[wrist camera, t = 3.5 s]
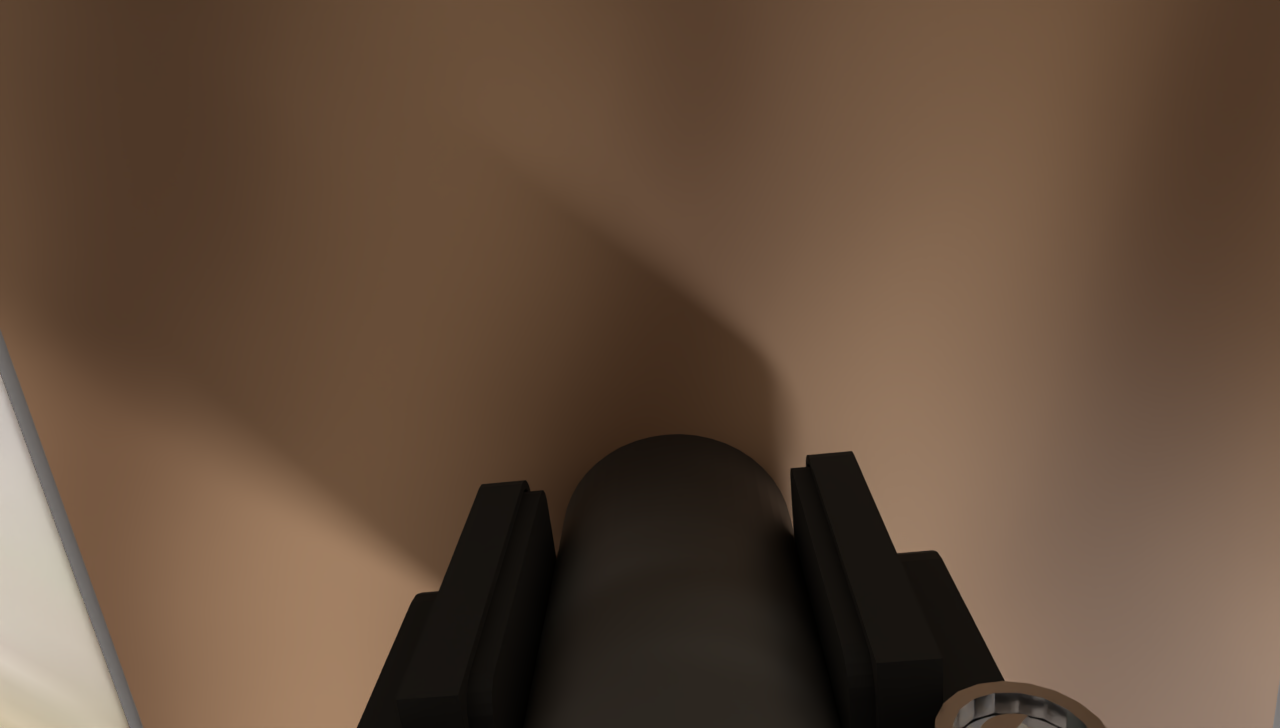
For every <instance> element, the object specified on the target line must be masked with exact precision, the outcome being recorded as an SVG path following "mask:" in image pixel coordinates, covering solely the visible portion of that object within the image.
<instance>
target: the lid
mask: <svg viewBox="0 0 1280 728" xmlns="http://www.w3.org/2000/svg"><path fill="white" fill-rule="evenodd" d="M0 330H1V332H2V335H3V338H4V341H5V343H6V346H7V349H8V352H9V355H10V357H11V360H12V363H13V366H14V369H15V371H16V374H17V377H18V380H19V382H20V385H21V388H22V391H23V394H24V396H25V399H26V402H27V405H28V408H29V410H30V413H31V416H32V419H33V421H34V424H35V427H36V430H37V433H38V435H39V438H40V441H41V444H42V446H43V449H44V452H45V455H46V458H47V460H48V463H49V466H50V469H51V472H52V474H53V477H54V480H55V483H56V485H57V488H58V491H59V494H60V497H61V499H62V502H63V505H64V508H65V511H66V513H67V516H68V519H69V522H70V524H71V527H72V530H73V533H74V536H75V538H76V541H77V544H78V547H79V550H80V552H81V555H82V558H83V561H84V563H85V566H86V569H87V572H88V575H89V577H90V580H91V583H92V586H93V589H94V591H95V594H96V597H97V600H98V602H99V605H100V608H101V611H102V614H103V616H104V619H105V622H106V625H107V628H108V630H109V633H110V636H111V639H112V641H113V644H114V647H115V650H116V653H117V655H118V658H119V661H120V664H121V667H122V669H123V672H124V675H125V678H126V680H127V683H128V686H129V689H130V692H131V694H132V697H133V700H134V703H135V706H136V708H137V711H138V714H139V717H140V719H141V722H142V725H143V728H357V726H358V724H359V721H360V719H361V717H362V715H363V712H364V710H365V708H366V705H367V703H368V701H369V698H370V696H371V694H372V691H373V689H374V687H375V685H376V682H377V680H378V678H379V675H380V673H381V671H382V668H383V666H384V664H385V661H386V659H387V657H388V655H389V652H390V650H391V648H392V645H393V643H394V641H395V638H396V636H397V634H398V631H399V629H400V627H401V625H402V622H403V620H404V618H405V615H406V613H407V611H408V608H409V606H410V604H411V602H412V600H413V599H414V597H415V595H416V594H419V593H422V592H434V591H439V589H440V586H441V584H442V581H443V579H444V576H445V573H446V571H447V568H448V566H449V563H450V561H451V558H452V556H453V553H454V551H455V548H456V546H457V543H458V540H459V538H460V535H461V533H462V530H463V528H464V525H465V523H466V520H467V518H468V515H469V513H470V510H471V507H472V505H473V502H474V500H475V497H476V495H477V492H478V490H479V487H480V486H481V484H489V483H500V482H511V481H522V480H526V481H527V482H528V484H529V487H530V491H540V490H544V492H545V494H546V498H547V503H548V509H549V515H550V521H551V527H552V534H553V540H554V546H555V552H556V558H557V559H556V564H555V569H554V574H553V579H552V584H551V589H550V594H549V599H548V604H547V609H546V614H545V619H544V624H543V629H542V634H541V639H540V644H539V649H538V654H537V659H536V664H535V669H534V675H533V680H532V685H531V690H530V695H529V700H528V705H527V710H526V715H525V720H524V725H523V728H841V724H840V720H839V716H838V712H837V708H836V704H835V700H834V696H833V692H832V688H831V684H830V680H829V676H828V672H827V668H826V664H825V660H824V656H823V652H822V648H821V644H820V640H819V636H818V632H817V628H816V624H815V620H814V616H813V612H812V608H811V604H810V600H809V596H808V592H807V588H806V584H805V580H804V576H803V572H802V568H801V564H800V560H799V556H798V552H797V548H796V544H795V540H794V530H793V514H792V498H791V482H790V469H791V468H798V467H806V456H807V455H812V454H823V453H835V452H846V451H852V452H853V453H854V455H855V457H856V460H857V462H858V464H859V467H860V469H861V471H862V474H863V476H864V478H865V480H866V483H867V485H868V487H869V490H870V492H871V494H872V497H873V499H874V501H875V503H876V506H877V508H878V510H879V513H880V515H881V517H882V520H883V522H884V524H885V526H886V529H887V531H888V533H889V536H890V538H891V540H892V543H893V545H894V547H895V549H896V552H897V553H905V552H917V551H929V550H934V551H937V552H938V553H939V555H940V556H941V558H942V559H943V561H944V563H945V565H946V567H947V569H948V571H949V573H950V575H951V577H952V579H953V581H954V583H955V585H956V587H957V589H958V591H959V592H960V594H961V596H962V598H963V600H964V602H965V604H966V606H967V608H968V610H969V612H970V614H971V616H972V618H973V620H974V622H975V624H976V626H977V627H978V629H979V631H980V633H981V635H982V637H983V639H984V641H985V643H986V645H987V647H988V649H989V651H990V653H991V655H992V657H993V659H994V661H995V663H996V664H997V666H998V668H999V670H1000V672H1001V674H1002V676H1003V678H1004V680H1005V681H1008V682H1020V683H1030V684H1033V685H1037V686H1041V687H1044V688H1048V689H1051V690H1055V691H1057V692H1059V693H1061V694H1063V695H1065V696H1067V697H1069V698H1071V699H1073V700H1075V701H1077V702H1079V703H1081V704H1082V705H1083V706H1084V707H1086V708H1087V709H1088V710H1090V711H1091V712H1092V713H1093V714H1095V715H1096V716H1097V717H1098V718H1099V719H1100V720H1101V721H1102V723H1103V724H1104V726H1105V727H1106V728H1273V723H1274V716H1275V709H1276V702H1277V695H1278V688H1279V681H1280V0H0Z"/></svg>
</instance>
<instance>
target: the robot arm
mask: <svg viewBox="0 0 1280 728" xmlns="http://www.w3.org/2000/svg"><path fill="white" fill-rule="evenodd" d="M790 482H791V498H792V514H793V530H794V540H795V544H796V548H797V552H798V556H799V560H800V564H801V568H802V572H803V576H804V580H805V584H806V588H807V592H808V596H809V600H810V604H811V608H812V612H813V616H814V620H815V624H816V628H817V632H818V636H819V640H820V644H821V648H822V652H823V656H824V660H825V664H826V668H827V672H828V676H829V680H830V684H831V688H832V692H833V696H834V700H835V704H836V708H837V712H838V716H839V720H840V724H841V728H1106V727H1105V726H1104V724H1103V723H1102V721H1101V720H1100V719H1099V718H1098V717H1097V716H1096V715H1095V714H1093V713H1092V712H1091V711H1090V710H1088V709H1087V708H1086V707H1084V706H1083V705H1082V704H1081V703H1079V702H1077V701H1075V700H1073V699H1071V698H1069V697H1067V696H1065V695H1063V694H1061V693H1059V692H1057V691H1055V690H1051V689H1048V688H1044V687H1041V686H1037V685H1033V684H1030V683H1020V682H1008V681H1005V680H1004V678H1003V676H1002V674H1001V672H1000V670H999V668H998V666H997V664H996V663H995V661H994V659H993V657H992V655H991V653H990V651H989V649H988V647H987V645H986V643H985V641H984V639H983V637H982V635H981V633H980V631H979V629H978V627H977V626H976V624H975V622H974V620H973V618H972V616H971V614H970V612H969V610H968V608H967V606H966V604H965V602H964V600H963V598H962V596H961V594H960V592H959V591H958V589H957V587H956V585H955V583H954V581H953V579H952V577H951V575H950V573H949V571H948V569H947V567H946V565H945V563H944V561H943V559H942V558H941V556H940V555H939V553H938V552H937V551H934V550H929V551H917V552H905V553H897V552H896V549H895V547H894V545H893V543H892V540H891V538H890V536H889V533H888V531H887V529H886V526H885V524H884V522H883V520H882V517H881V515H880V513H879V510H878V508H877V506H876V503H875V501H874V499H873V497H872V494H871V492H870V490H869V487H868V485H867V483H866V480H865V478H864V476H863V474H862V471H861V469H860V467H859V464H858V462H857V460H856V457H855V455H854V453H853V452H852V451H846V452H835V453H823V454H812V455H807V456H806V467H798V468H791V469H790ZM556 559H557V558H556V552H555V546H554V540H553V534H552V527H551V521H550V515H549V509H548V503H547V498H546V494H545V492H544V490H540V491H530V487H529V484H528V482H527V481H526V480H522V481H511V482H500V483H489V484H481V486H480V487H479V490H478V492H477V495H476V497H475V500H474V502H473V505H472V507H471V510H470V513H469V515H468V518H467V520H466V523H465V525H464V528H463V530H462V533H461V535H460V538H459V540H458V543H457V546H456V548H455V551H454V553H453V556H452V558H451V561H450V563H449V566H448V568H447V571H446V573H445V576H444V579H443V581H442V584H441V586H440V589H439V591H434V592H422V593H419V594H416V595H415V597H414V599H413V600H412V602H411V604H410V606H409V608H408V611H407V613H406V615H405V618H404V620H403V622H402V625H401V627H400V629H399V631H398V634H397V636H396V638H395V641H394V643H393V645H392V648H391V650H390V652H389V655H388V657H387V659H386V661H385V664H384V666H383V668H382V671H381V673H380V675H379V678H378V680H377V682H376V685H375V687H374V689H373V691H372V694H371V696H370V698H369V701H368V703H367V705H366V708H365V710H364V712H363V715H362V717H361V719H360V721H359V724H358V726H357V728H523V725H524V720H525V715H526V710H527V705H528V700H529V695H530V690H531V685H532V680H533V675H534V669H535V664H536V659H537V654H538V649H539V644H540V639H541V634H542V629H543V624H544V619H545V614H546V609H547V604H548V599H549V594H550V589H551V584H552V579H553V574H554V569H555V564H556Z"/></svg>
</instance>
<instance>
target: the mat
mask: <svg viewBox="0 0 1280 728" xmlns="http://www.w3.org/2000/svg"><path fill="white" fill-rule="evenodd" d="M0 374H1V376H2V379H3V382H4V384H5V387H6V390H7V393H8V395H9V398H10V401H11V404H12V406H13V409H14V412H15V415H16V417H17V420H18V423H19V426H20V428H21V431H22V434H23V437H24V439H25V442H26V445H27V447H28V450H29V453H30V456H31V458H32V461H33V464H34V467H35V469H36V472H37V475H38V478H39V480H40V483H41V486H42V489H43V491H44V494H45V497H46V500H47V502H48V505H49V508H50V510H51V513H52V516H53V519H54V521H55V524H56V527H57V530H58V532H59V535H60V538H61V541H62V543H63V546H64V549H65V552H66V554H67V557H68V560H69V563H70V565H71V568H72V571H73V573H74V576H75V579H76V582H77V584H78V587H79V590H80V593H81V595H82V598H83V601H84V604H85V606H86V609H87V612H88V615H89V617H90V620H91V623H92V626H93V628H94V631H95V634H96V636H97V639H98V642H99V645H100V647H101V650H102V653H103V656H104V658H105V661H106V664H107V667H108V669H109V672H110V675H111V678H112V680H113V683H114V686H115V689H116V691H117V694H118V697H119V699H120V702H121V705H122V708H123V710H124V713H125V716H126V719H127V721H128V724H129V727H130V728H143V725H142V722H141V719H140V717H139V714H138V711H137V708H136V706H135V703H134V700H133V697H132V694H131V692H130V689H129V686H128V683H127V680H126V678H125V675H124V672H123V669H122V667H121V664H120V661H119V658H118V655H117V653H116V650H115V647H114V644H113V641H112V639H111V636H110V633H109V630H108V628H107V625H106V622H105V619H104V616H103V614H102V611H101V608H100V605H99V602H98V600H97V597H96V594H95V591H94V589H93V586H92V583H91V580H90V577H89V575H88V572H87V569H86V566H85V563H84V561H83V558H82V555H81V552H80V550H79V547H78V544H77V541H76V538H75V536H74V533H73V530H72V527H71V524H70V522H69V519H68V516H67V513H66V511H65V508H64V505H63V502H62V499H61V497H60V494H59V491H58V488H57V485H56V483H55V480H54V477H53V474H52V472H51V469H50V466H49V463H48V460H47V458H46V455H45V452H44V449H43V446H42V444H41V441H40V438H39V435H38V433H37V430H36V427H35V424H34V421H33V419H32V416H31V413H30V410H29V408H28V405H27V402H26V399H25V396H24V394H23V391H22V388H21V385H20V382H19V380H18V377H17V374H16V371H15V369H14V366H13V363H12V360H11V357H10V355H9V352H8V349H7V346H6V343H5V341H4V338H3V335H2V332H1V330H0ZM1273 728H1280V681H1279V688H1278V695H1277V702H1276V709H1275V716H1274V723H1273Z"/></svg>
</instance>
